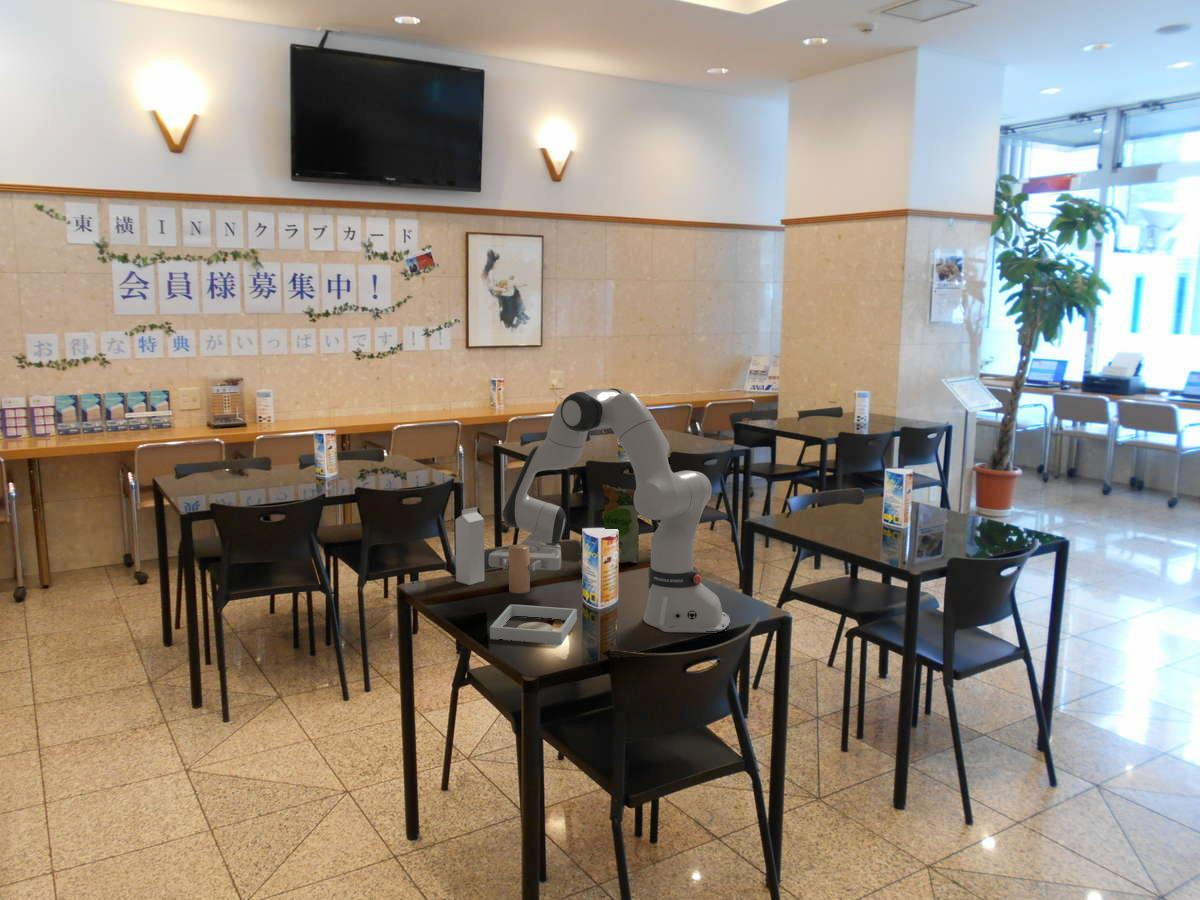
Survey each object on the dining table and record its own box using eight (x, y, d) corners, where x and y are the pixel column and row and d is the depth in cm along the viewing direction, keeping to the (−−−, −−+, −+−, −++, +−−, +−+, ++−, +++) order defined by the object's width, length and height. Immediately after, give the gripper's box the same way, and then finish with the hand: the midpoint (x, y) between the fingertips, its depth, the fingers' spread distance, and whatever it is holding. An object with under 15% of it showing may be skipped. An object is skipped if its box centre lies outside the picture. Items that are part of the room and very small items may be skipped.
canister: (532, 587, 254) (531, 545, 252) (526, 593, 248) (526, 550, 247) (512, 586, 255) (511, 544, 253) (506, 592, 249) (506, 549, 248)
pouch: (639, 567, 291) (640, 489, 287) (601, 567, 291) (602, 489, 287) (637, 557, 302) (638, 482, 298) (600, 557, 302) (601, 482, 298)
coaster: (556, 624, 238) (556, 623, 238) (547, 636, 229) (547, 635, 229) (522, 622, 240) (522, 620, 240) (512, 633, 231) (512, 632, 231)
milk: (484, 581, 275) (484, 508, 272) (469, 585, 270) (469, 511, 267) (470, 576, 279) (470, 505, 275) (455, 581, 274) (455, 508, 271)
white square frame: (576, 620, 242) (576, 609, 241) (561, 644, 224) (561, 632, 224) (510, 615, 245) (510, 604, 244) (489, 638, 227) (489, 627, 227)
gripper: (495, 541, 265) (481, 554, 251) (565, 545, 261) (554, 557, 247) (496, 563, 266) (481, 576, 252) (566, 566, 262) (554, 580, 248)
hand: (518, 567), depth 250 cm, fingers closed on canister, 6 cm apart
